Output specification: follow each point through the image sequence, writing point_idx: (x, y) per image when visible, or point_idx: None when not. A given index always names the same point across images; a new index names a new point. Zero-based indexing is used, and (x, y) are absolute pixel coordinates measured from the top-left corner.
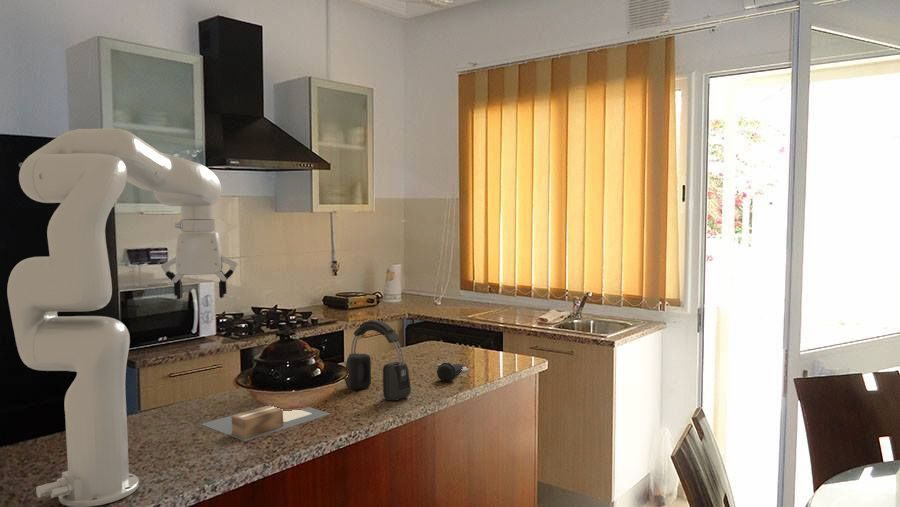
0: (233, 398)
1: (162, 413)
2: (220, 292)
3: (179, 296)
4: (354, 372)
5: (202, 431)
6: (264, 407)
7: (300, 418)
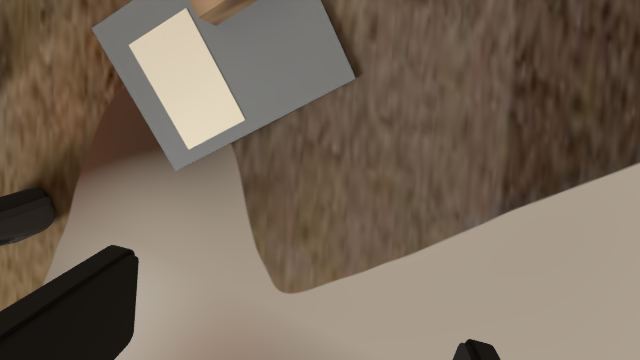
0: (278, 249)
1: (422, 211)
2: (92, 268)
3: (475, 356)
4: (2, 199)
5: (355, 42)
6: (211, 2)
7: (154, 23)
